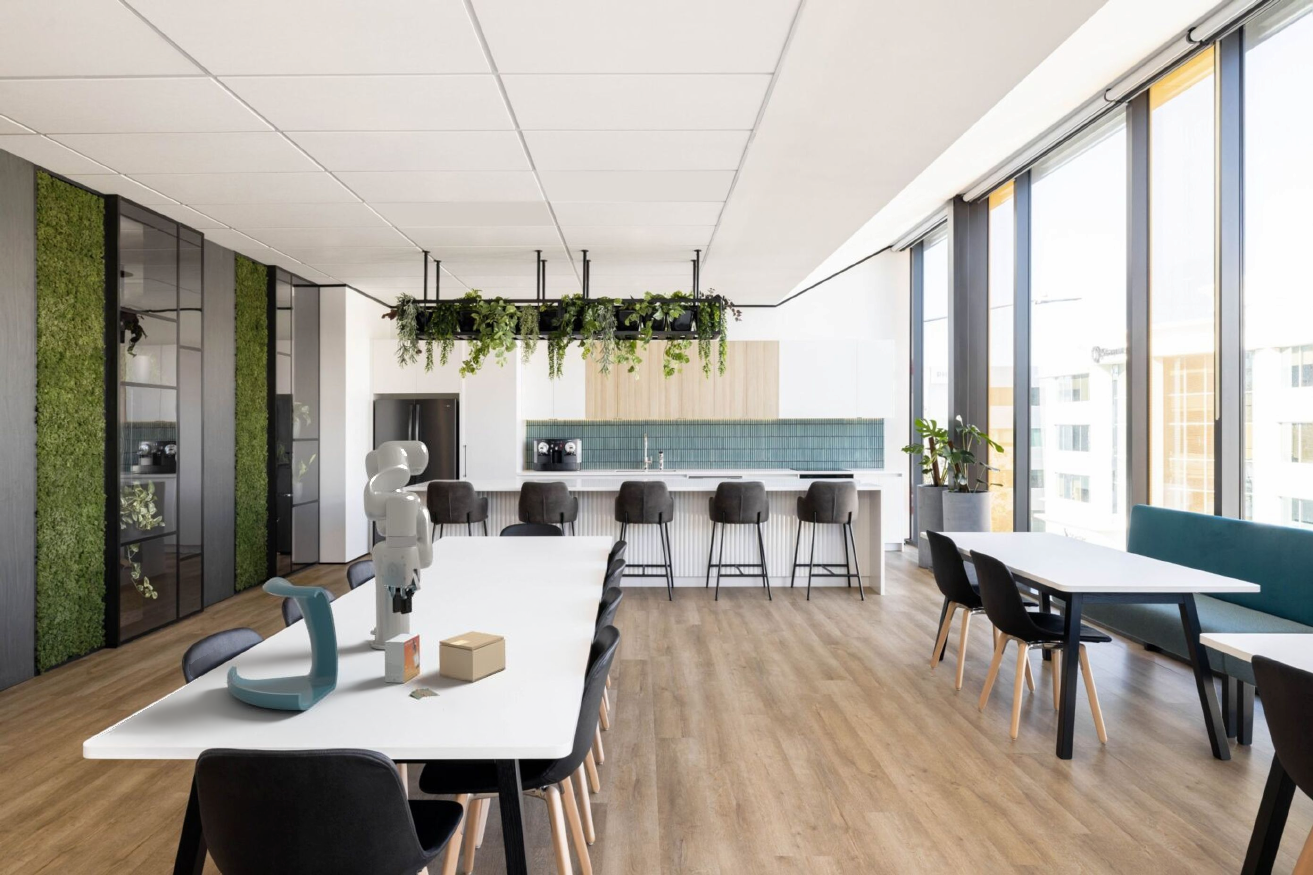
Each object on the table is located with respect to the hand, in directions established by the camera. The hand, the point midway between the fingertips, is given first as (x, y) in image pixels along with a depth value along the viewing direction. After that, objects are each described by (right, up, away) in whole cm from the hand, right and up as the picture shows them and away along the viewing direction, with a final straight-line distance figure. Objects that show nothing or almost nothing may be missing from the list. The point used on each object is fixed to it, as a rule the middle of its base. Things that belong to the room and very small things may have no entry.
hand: (402, 611), depth 188 cm
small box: (0, -17, 0) cm, 17 cm away
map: (+15, -17, -17) cm, 29 cm away
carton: (+17, -17, +4) cm, 25 cm away
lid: (+17, -9, +3) cm, 19 cm away
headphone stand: (-28, -18, -12) cm, 35 cm away
